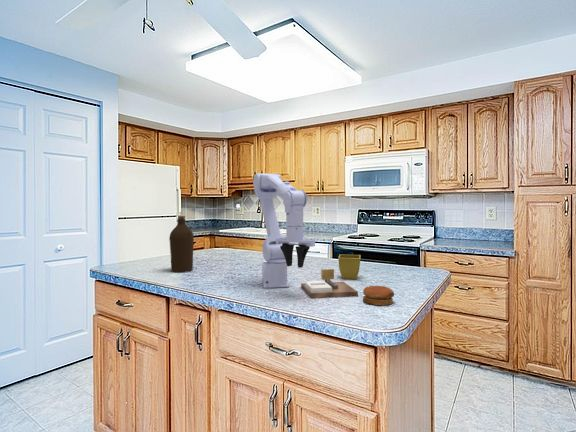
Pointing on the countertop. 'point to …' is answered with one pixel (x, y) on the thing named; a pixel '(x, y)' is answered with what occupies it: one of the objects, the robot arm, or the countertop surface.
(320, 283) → the cover
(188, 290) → the countertop surface
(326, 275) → the wooden mallet
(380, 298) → the burger
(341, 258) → the flower pot
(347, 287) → the board
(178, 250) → the olive oil
